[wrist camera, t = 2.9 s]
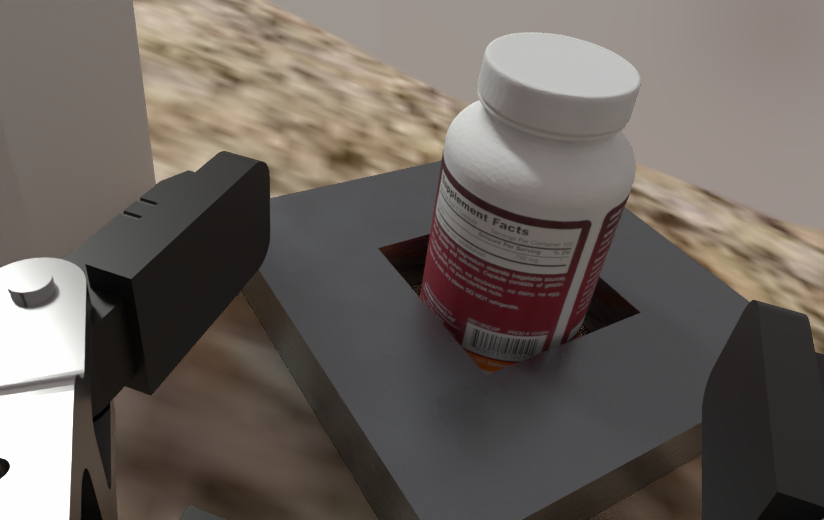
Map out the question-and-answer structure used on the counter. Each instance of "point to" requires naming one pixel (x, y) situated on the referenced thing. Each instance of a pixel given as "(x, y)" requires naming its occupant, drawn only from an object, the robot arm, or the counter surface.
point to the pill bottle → (530, 196)
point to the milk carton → (68, 123)
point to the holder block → (462, 378)
